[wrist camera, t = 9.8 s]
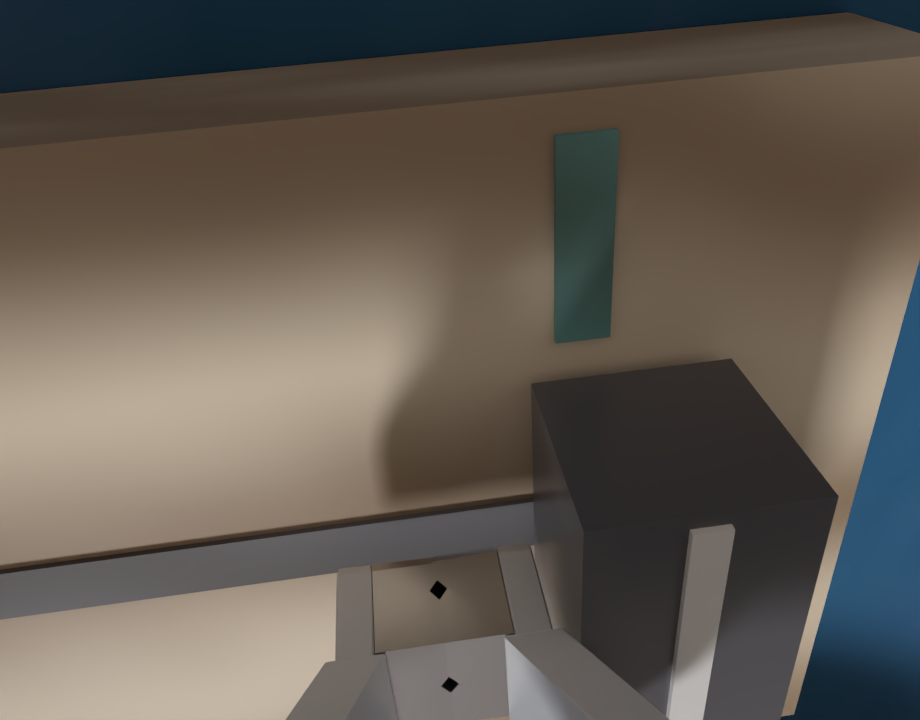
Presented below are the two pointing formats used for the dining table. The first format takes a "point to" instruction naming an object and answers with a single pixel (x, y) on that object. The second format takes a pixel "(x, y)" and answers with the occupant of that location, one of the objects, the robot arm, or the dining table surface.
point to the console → (404, 320)
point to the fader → (678, 534)
